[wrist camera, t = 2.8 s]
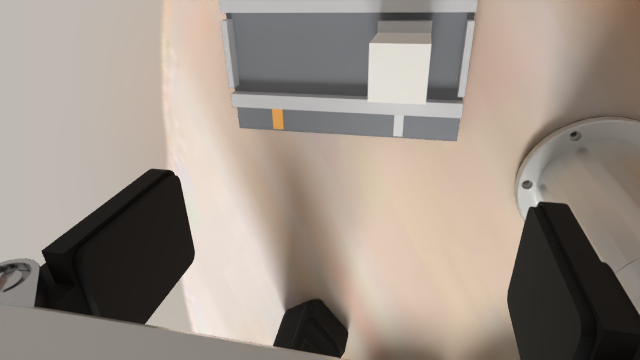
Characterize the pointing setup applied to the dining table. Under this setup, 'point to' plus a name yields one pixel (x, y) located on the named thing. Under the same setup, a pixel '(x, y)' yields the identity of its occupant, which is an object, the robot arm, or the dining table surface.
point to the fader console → (340, 66)
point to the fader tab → (400, 62)
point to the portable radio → (312, 330)
